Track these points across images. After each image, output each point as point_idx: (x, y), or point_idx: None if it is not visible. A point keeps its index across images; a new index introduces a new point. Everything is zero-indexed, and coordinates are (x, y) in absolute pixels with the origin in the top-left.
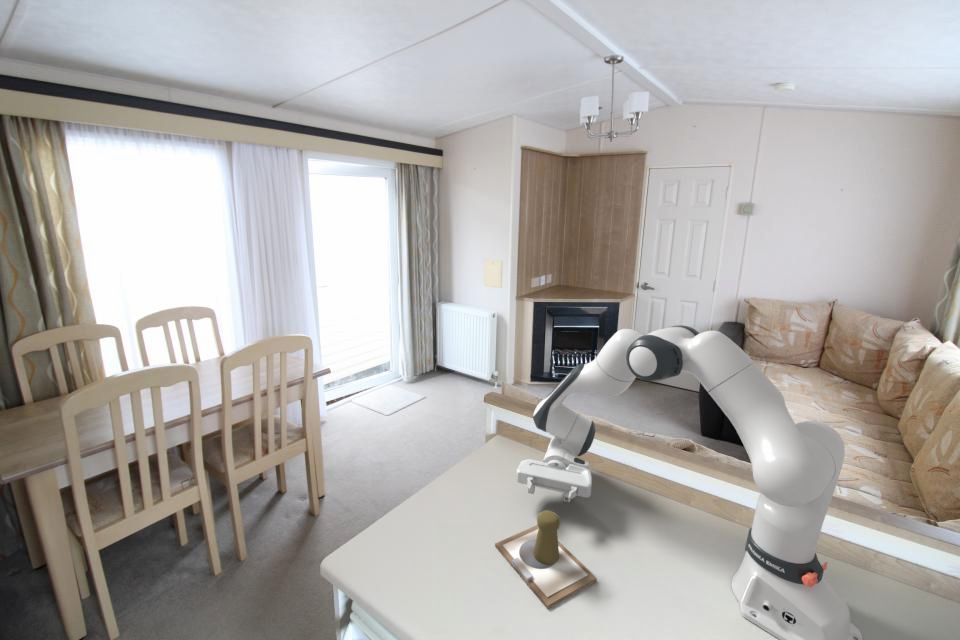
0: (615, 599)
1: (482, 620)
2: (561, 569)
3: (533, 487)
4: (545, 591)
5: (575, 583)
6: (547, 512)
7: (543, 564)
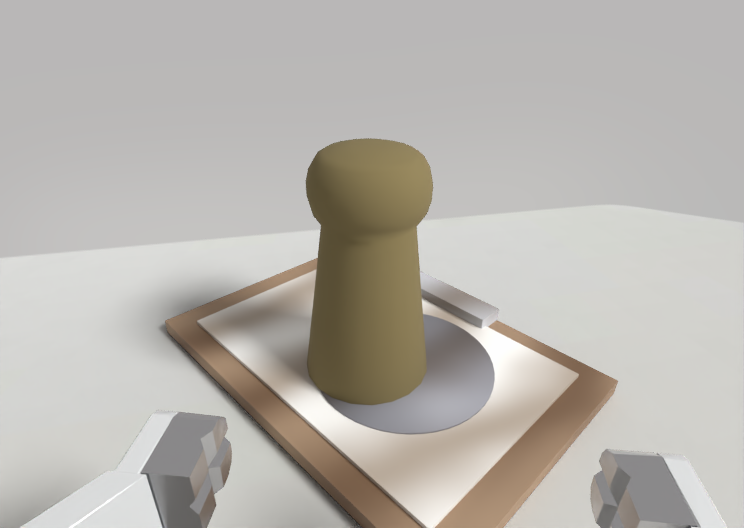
0: (128, 295)
1: (494, 225)
2: (300, 321)
3: (627, 467)
4: None
5: (254, 295)
6: (380, 151)
7: None
